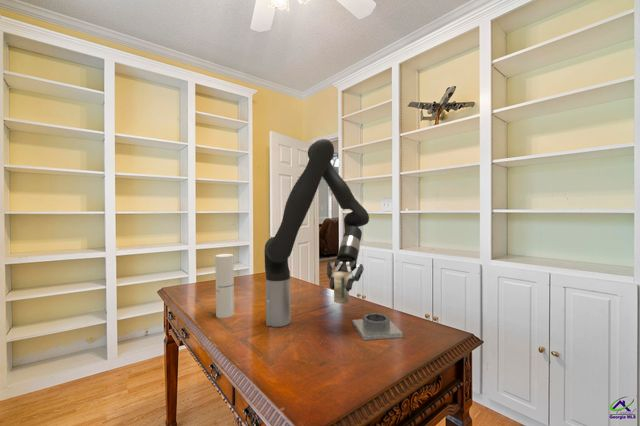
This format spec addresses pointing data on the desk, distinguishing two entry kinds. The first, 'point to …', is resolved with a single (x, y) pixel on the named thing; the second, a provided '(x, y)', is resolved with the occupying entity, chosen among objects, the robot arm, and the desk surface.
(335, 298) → the cream rounded cylinder
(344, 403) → the desk surface
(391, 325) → the socket plate
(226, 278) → the cylindrical container
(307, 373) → the desk surface
